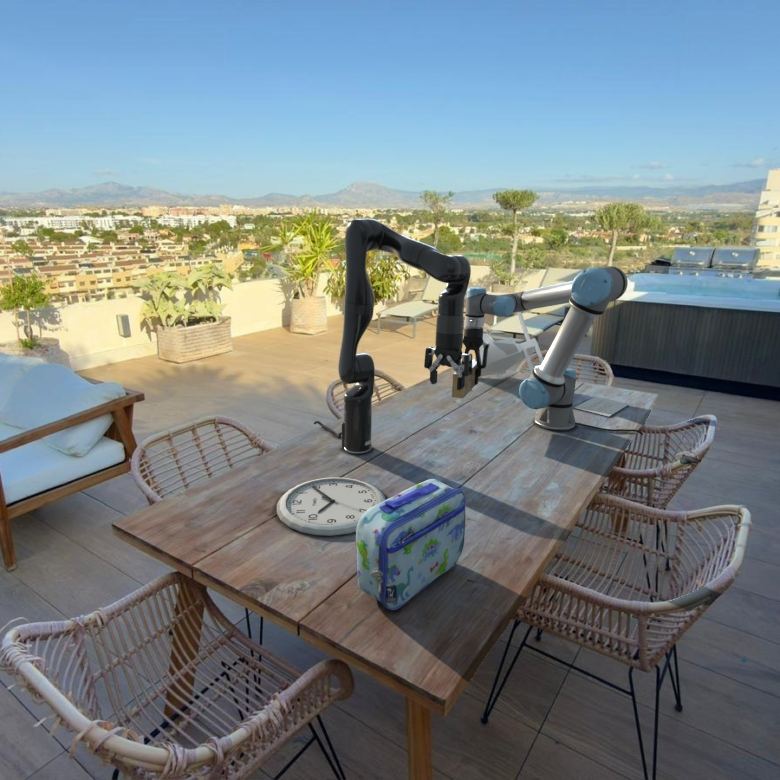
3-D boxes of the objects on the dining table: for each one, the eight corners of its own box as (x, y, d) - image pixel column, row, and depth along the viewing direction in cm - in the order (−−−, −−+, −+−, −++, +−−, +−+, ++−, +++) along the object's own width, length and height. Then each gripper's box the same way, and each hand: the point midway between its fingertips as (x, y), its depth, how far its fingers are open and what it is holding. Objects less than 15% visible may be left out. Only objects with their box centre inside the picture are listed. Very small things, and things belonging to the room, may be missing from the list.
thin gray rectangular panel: (608, 416, 214) (573, 407, 224) (608, 416, 214) (573, 408, 224) (628, 404, 229) (594, 396, 238) (628, 405, 229) (594, 397, 238)
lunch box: (385, 624, 100) (387, 528, 94) (349, 596, 108) (348, 506, 101) (468, 566, 118) (474, 482, 112) (432, 545, 125) (436, 466, 119)
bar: (467, 381, 219) (468, 360, 216) (477, 382, 217) (479, 361, 214) (451, 396, 199) (453, 373, 196) (462, 398, 197) (464, 375, 194)
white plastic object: (486, 418, 266) (465, 396, 241) (467, 346, 288) (447, 318, 263) (557, 395, 254) (543, 368, 229) (531, 321, 276) (517, 290, 251)
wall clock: (392, 527, 129) (268, 531, 127) (391, 533, 130) (269, 537, 127) (383, 473, 158) (282, 475, 155) (383, 478, 158) (282, 480, 156)
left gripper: (420, 328, 145) (418, 384, 150) (465, 335, 137) (462, 394, 142) (434, 325, 151) (432, 379, 155) (479, 331, 143) (475, 388, 147)
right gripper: (449, 326, 207) (446, 382, 214) (493, 330, 201) (489, 388, 208) (455, 323, 214) (452, 378, 221) (497, 327, 207) (493, 383, 214)
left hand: (446, 386), depth 149 cm, fingers open, 8 cm apart
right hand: (470, 383), depth 214 cm, fingers closed on bar, 4 cm apart
